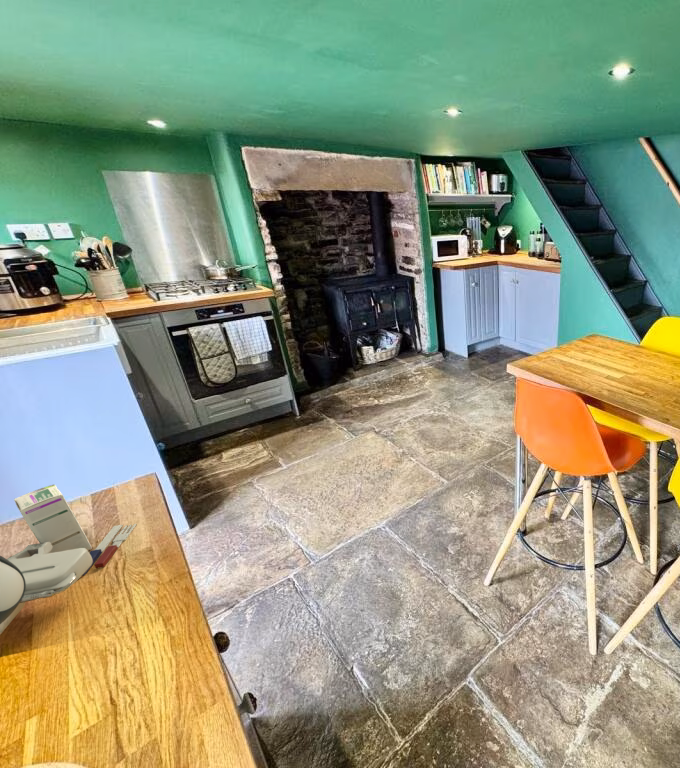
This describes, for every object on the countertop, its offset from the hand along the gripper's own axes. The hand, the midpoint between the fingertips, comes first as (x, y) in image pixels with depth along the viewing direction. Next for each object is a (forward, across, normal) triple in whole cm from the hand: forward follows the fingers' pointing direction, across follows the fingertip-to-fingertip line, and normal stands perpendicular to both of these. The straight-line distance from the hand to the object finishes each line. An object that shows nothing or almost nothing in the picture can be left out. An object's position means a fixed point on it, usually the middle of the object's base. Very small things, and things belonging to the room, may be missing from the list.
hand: (41, 545), depth 76 cm
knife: (+3, -6, +6) cm, 9 cm away
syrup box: (+4, 0, +6) cm, 8 cm away
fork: (+3, -8, +6) cm, 11 cm away
